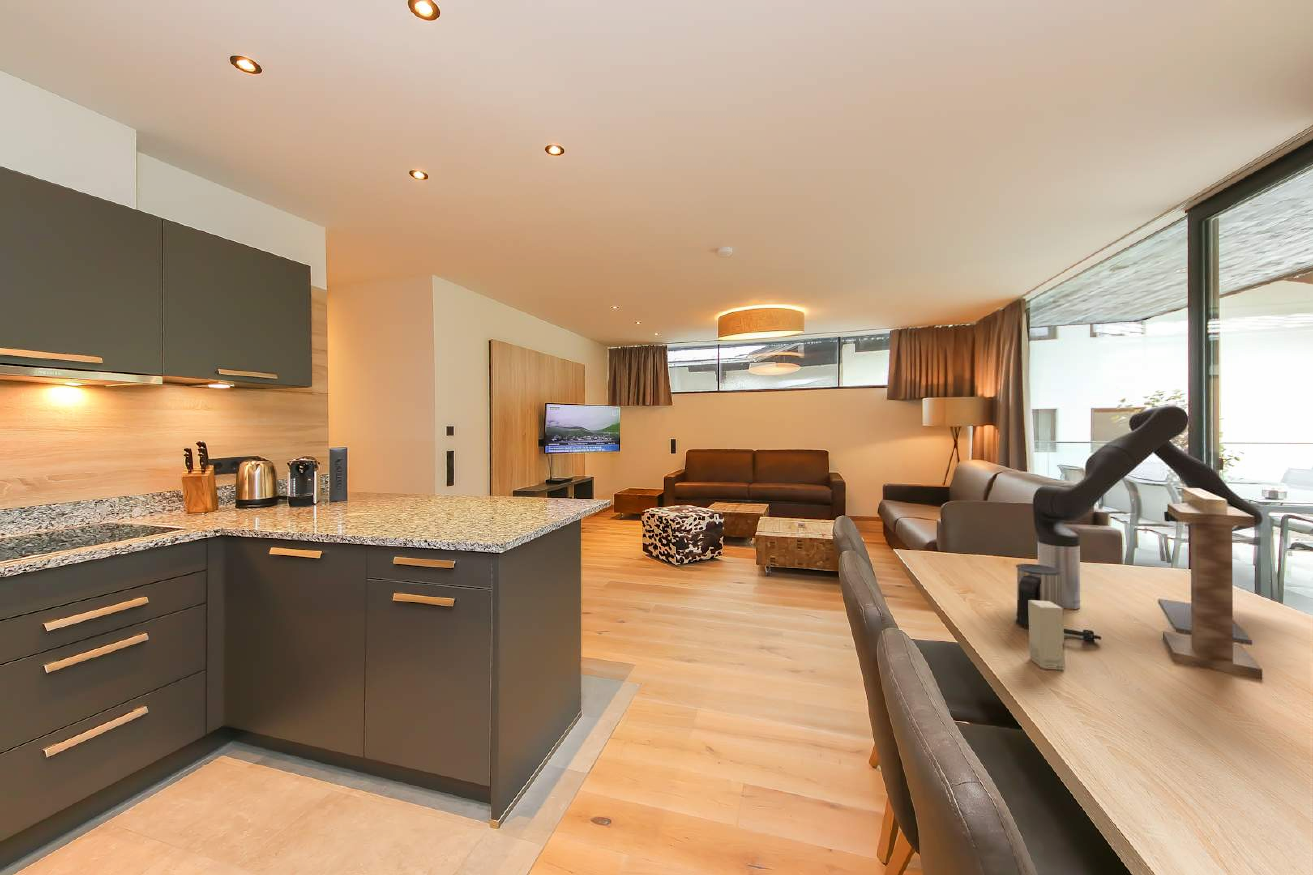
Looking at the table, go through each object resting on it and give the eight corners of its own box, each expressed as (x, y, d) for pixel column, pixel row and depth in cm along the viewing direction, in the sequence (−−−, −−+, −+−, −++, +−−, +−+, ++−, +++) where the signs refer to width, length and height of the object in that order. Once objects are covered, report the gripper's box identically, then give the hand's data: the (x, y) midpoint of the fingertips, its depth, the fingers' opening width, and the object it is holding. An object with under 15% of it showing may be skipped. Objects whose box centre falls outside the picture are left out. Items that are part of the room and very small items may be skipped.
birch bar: (1205, 513, 99) (1204, 499, 99) (1181, 499, 118) (1181, 487, 118) (1227, 514, 98) (1227, 500, 98) (1199, 500, 116) (1199, 488, 116)
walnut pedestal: (1174, 662, 103) (1173, 511, 102) (1162, 638, 114) (1161, 502, 114) (1263, 680, 95) (1262, 517, 95) (1240, 652, 107) (1239, 507, 106)
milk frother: (1015, 616, 129) (1014, 561, 129) (1094, 630, 120) (1094, 570, 120) (1016, 635, 118) (1015, 574, 118) (1104, 651, 108) (1103, 585, 108)
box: (1066, 671, 100) (1065, 608, 100) (1041, 669, 101) (1041, 607, 101) (1050, 659, 105) (1050, 600, 105) (1027, 657, 106) (1027, 599, 106)
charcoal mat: (1175, 631, 118) (1175, 627, 118) (1158, 601, 138) (1158, 598, 138) (1252, 643, 111) (1252, 640, 111) (1221, 610, 131) (1221, 607, 131)
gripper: (1176, 502, 136) (1156, 501, 128) (1256, 504, 124) (1239, 504, 116) (1178, 529, 135) (1158, 530, 127) (1259, 534, 123) (1242, 536, 115)
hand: (1197, 518), depth 122 cm, fingers open, 8 cm apart
